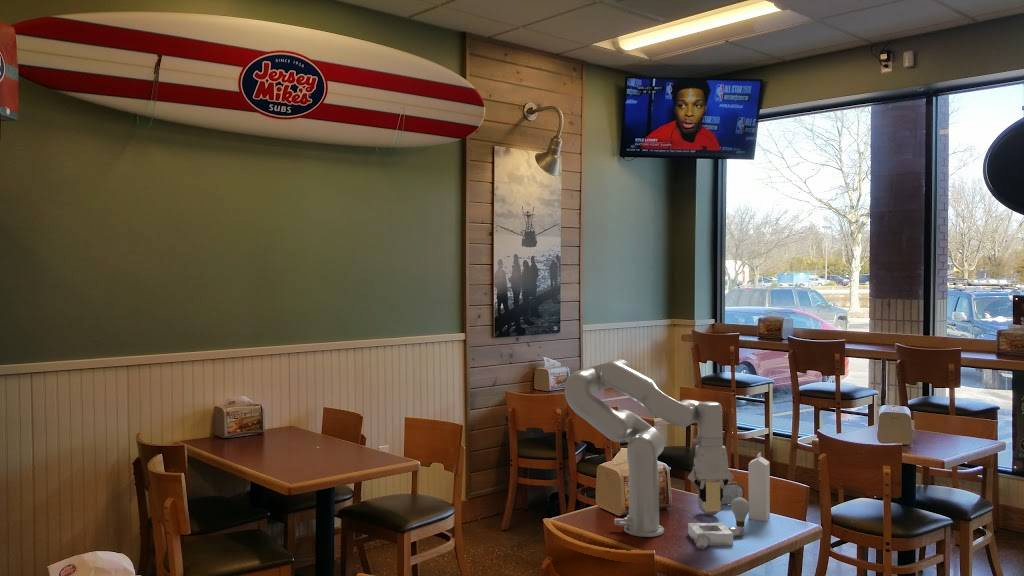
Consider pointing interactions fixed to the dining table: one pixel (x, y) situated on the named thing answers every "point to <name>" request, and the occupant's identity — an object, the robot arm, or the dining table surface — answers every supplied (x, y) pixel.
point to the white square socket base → (711, 533)
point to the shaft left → (703, 542)
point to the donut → (704, 510)
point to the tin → (732, 492)
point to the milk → (759, 488)
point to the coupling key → (712, 495)
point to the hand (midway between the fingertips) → (711, 499)
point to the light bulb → (740, 510)
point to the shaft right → (737, 531)
